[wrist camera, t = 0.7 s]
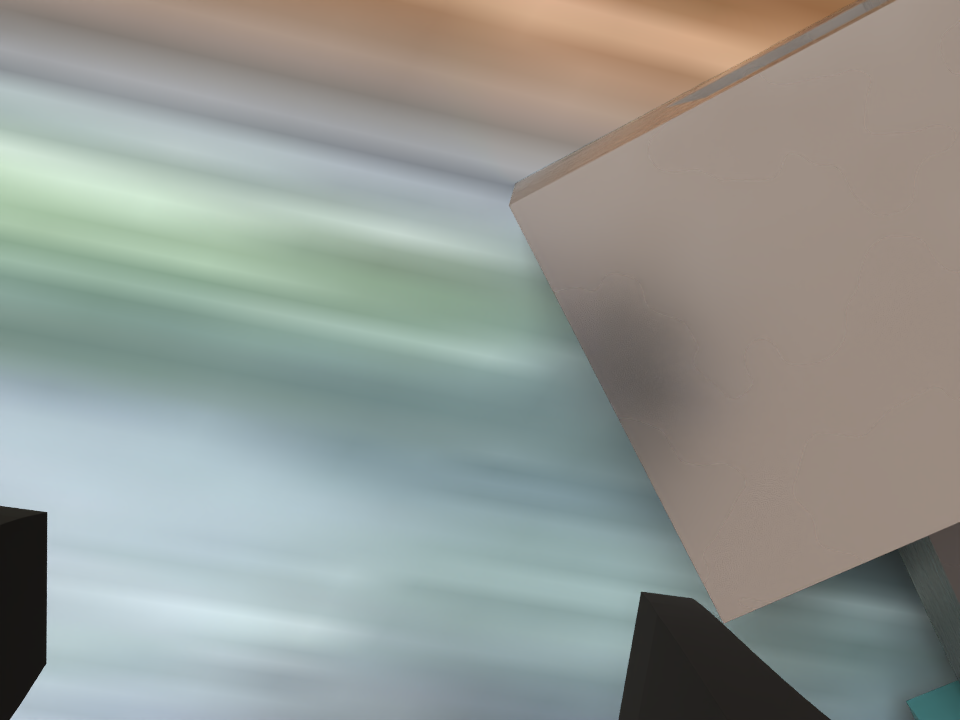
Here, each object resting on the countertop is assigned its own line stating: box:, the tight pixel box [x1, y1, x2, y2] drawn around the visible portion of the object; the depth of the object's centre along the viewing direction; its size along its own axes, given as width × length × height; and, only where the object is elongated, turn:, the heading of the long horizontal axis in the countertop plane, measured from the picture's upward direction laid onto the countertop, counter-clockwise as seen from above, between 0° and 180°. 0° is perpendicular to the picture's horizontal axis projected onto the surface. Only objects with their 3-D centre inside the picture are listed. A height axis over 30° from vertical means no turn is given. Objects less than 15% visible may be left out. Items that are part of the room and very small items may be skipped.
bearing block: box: [509, 0, 960, 623], centre depth 15 cm, size 7×10×7 cm
